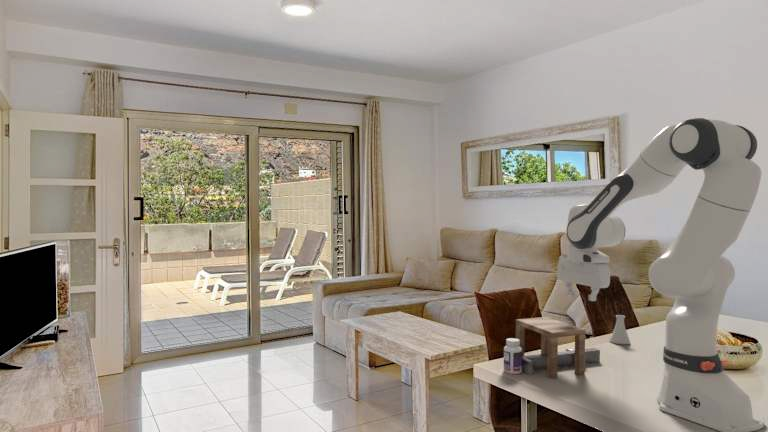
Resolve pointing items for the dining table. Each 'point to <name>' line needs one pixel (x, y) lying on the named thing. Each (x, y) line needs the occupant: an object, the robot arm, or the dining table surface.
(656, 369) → the dining table surface
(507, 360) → the pill bottle
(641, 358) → the dining table surface
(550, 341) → the low table
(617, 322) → the flask
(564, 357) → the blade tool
